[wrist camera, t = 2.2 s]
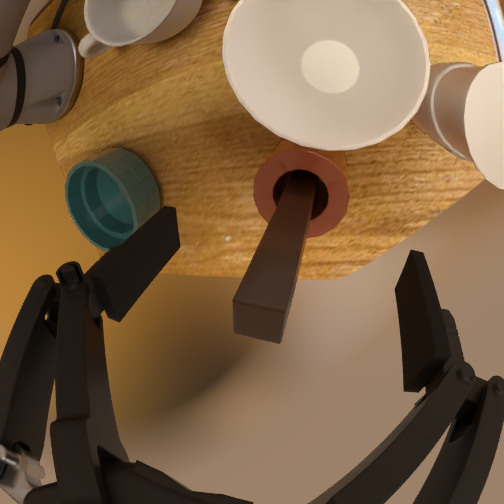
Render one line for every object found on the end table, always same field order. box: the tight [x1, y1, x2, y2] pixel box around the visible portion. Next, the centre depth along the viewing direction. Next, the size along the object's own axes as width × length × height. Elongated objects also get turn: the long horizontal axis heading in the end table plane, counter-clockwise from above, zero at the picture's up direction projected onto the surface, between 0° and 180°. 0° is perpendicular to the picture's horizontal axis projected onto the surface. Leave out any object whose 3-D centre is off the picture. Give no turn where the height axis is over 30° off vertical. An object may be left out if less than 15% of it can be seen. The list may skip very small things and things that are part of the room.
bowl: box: [65, 148, 161, 252], centre depth 33 cm, size 13×13×6 cm
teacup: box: [78, 0, 203, 58], centre depth 17 cm, size 14×11×8 cm
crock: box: [253, 139, 350, 238], centre depth 23 cm, size 7×7×9 cm
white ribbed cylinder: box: [411, 62, 504, 189], centre depth 14 cm, size 7×7×15 cm
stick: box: [233, 169, 319, 344], centre depth 18 cm, size 2×2×20 cm
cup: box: [222, 0, 431, 151], centre depth 16 cm, size 10×10×14 cm
